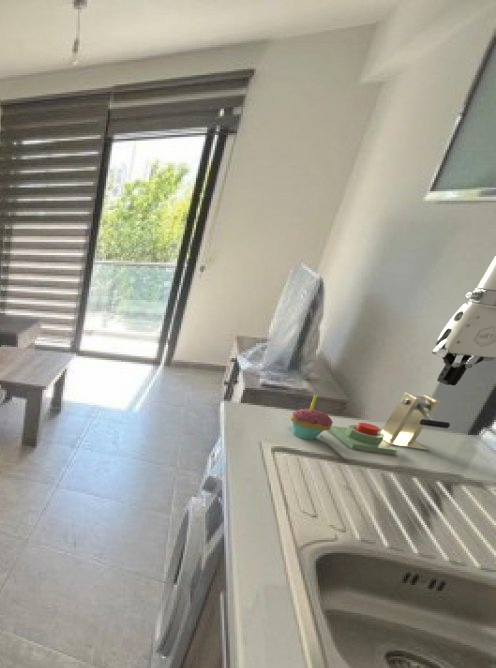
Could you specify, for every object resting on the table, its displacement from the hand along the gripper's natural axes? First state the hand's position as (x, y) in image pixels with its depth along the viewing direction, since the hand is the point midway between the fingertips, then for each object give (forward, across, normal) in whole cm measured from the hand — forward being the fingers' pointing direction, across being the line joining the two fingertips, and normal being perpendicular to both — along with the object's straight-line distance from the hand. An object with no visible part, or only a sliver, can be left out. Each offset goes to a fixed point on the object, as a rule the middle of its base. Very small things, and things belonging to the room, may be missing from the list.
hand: (445, 383), depth 108 cm
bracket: (+19, +5, +11) cm, 23 cm away
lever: (+10, +5, +7) cm, 14 cm away
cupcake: (+19, -18, +6) cm, 27 cm away
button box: (+19, -6, +5) cm, 21 cm away
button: (+16, -6, +5) cm, 18 cm away
